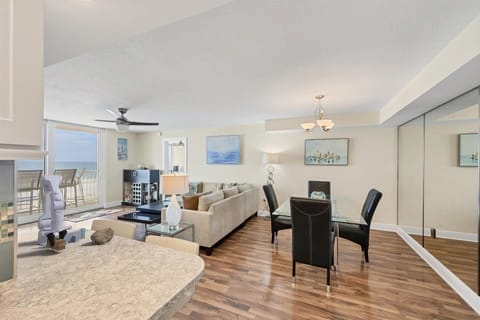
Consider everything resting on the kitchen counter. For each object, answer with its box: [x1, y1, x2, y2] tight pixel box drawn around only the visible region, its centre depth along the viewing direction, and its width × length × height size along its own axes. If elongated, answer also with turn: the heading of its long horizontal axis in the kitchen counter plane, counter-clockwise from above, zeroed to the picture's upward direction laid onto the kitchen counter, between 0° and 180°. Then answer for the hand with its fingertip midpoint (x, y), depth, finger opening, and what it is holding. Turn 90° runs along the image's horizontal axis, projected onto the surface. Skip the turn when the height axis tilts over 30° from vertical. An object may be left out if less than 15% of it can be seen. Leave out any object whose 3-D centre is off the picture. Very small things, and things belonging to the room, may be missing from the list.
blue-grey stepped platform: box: [55, 227, 86, 245], centre depth 136 cm, size 5×20×7 cm, turn 155°
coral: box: [89, 227, 115, 245], centre depth 139 cm, size 14×9×10 cm, turn 154°
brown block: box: [45, 237, 67, 252], centre depth 123 cm, size 13×4×5 cm, turn 65°
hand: (56, 244), depth 122 cm, fingers closed on brown block, 3 cm apart
